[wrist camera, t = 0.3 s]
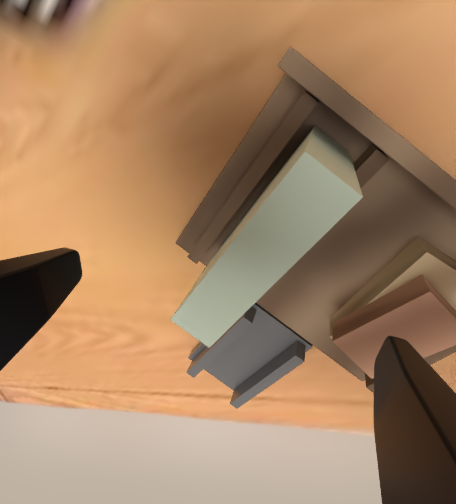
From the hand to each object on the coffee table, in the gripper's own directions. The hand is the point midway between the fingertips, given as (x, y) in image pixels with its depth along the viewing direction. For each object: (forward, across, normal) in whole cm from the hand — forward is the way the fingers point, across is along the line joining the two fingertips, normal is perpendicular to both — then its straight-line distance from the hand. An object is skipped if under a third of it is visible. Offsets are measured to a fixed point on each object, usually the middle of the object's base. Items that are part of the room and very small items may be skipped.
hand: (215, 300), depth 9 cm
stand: (+13, 0, +15) cm, 19 cm away
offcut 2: (+10, -8, +6) cm, 14 cm away
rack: (+13, -4, +4) cm, 14 cm away
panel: (+12, 0, +1) cm, 12 cm away
